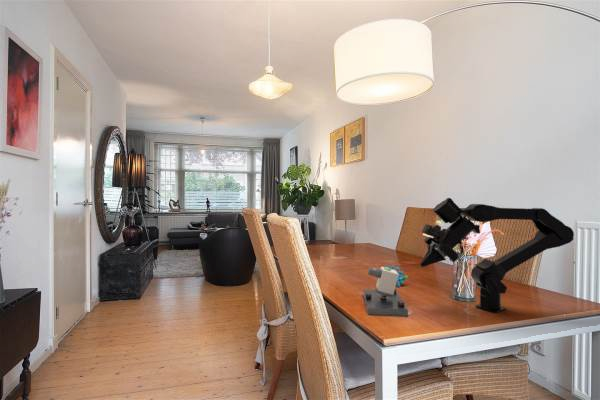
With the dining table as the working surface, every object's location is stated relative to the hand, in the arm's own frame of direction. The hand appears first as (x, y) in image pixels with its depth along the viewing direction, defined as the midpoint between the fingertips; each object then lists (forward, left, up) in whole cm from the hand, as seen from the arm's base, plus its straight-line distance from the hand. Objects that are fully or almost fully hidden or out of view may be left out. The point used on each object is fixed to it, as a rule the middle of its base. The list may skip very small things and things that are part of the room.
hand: (420, 265), depth 105 cm
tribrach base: (+10, -7, -13) cm, 18 cm away
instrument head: (+11, -8, -9) cm, 17 cm away
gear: (-12, -23, -14) cm, 29 cm away
